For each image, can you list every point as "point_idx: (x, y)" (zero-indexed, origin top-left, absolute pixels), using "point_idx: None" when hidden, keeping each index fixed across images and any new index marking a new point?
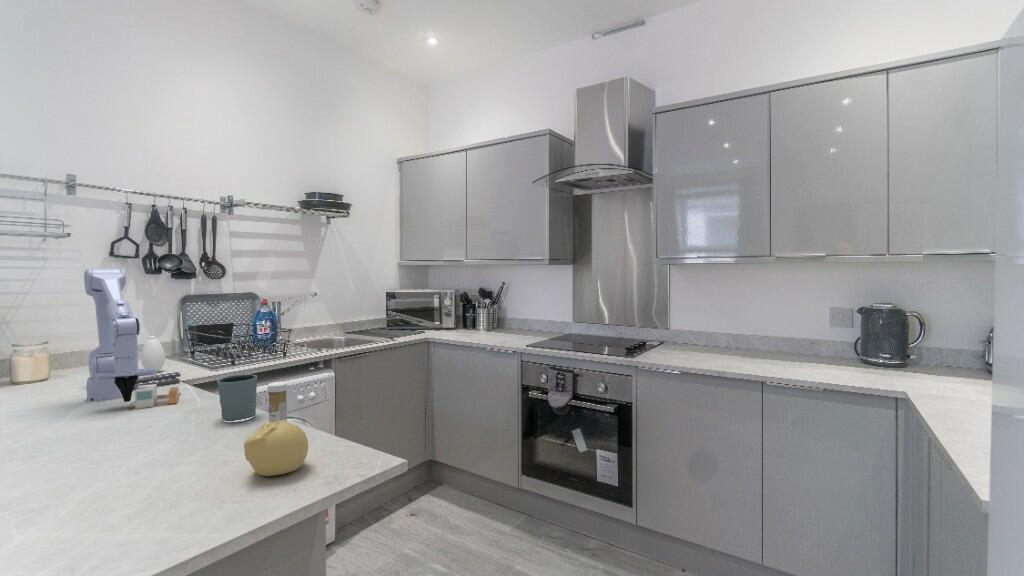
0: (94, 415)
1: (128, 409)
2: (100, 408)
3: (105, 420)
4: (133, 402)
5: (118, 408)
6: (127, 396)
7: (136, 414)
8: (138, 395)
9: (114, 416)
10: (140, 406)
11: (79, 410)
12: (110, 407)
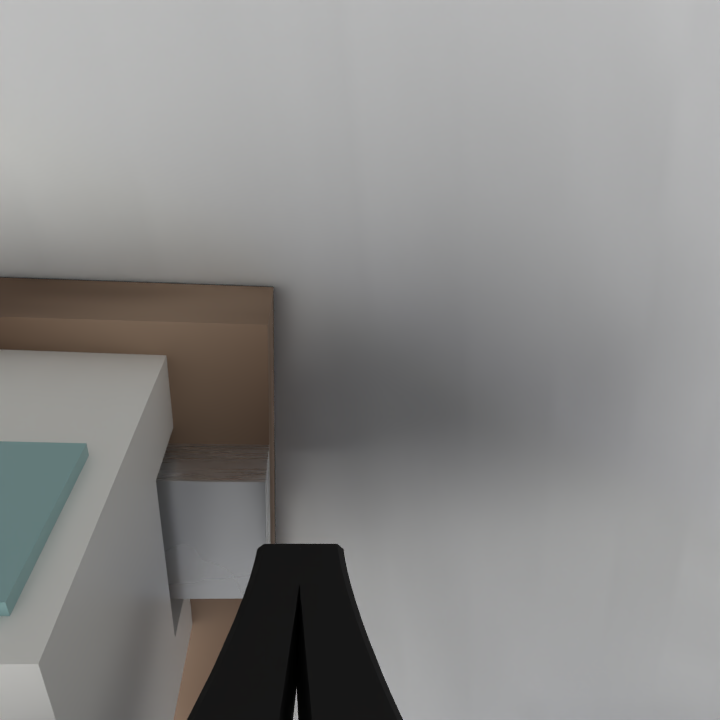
0: (640, 492)
1: (267, 369)
2: (563, 695)
3: (555, 144)
4: (232, 584)
5: (417, 636)
6: (278, 617)
7: (159, 267)
8: (3, 527)
9: (443, 323)
10: (78, 371)
11: (714, 703)
12: (486, 691)
